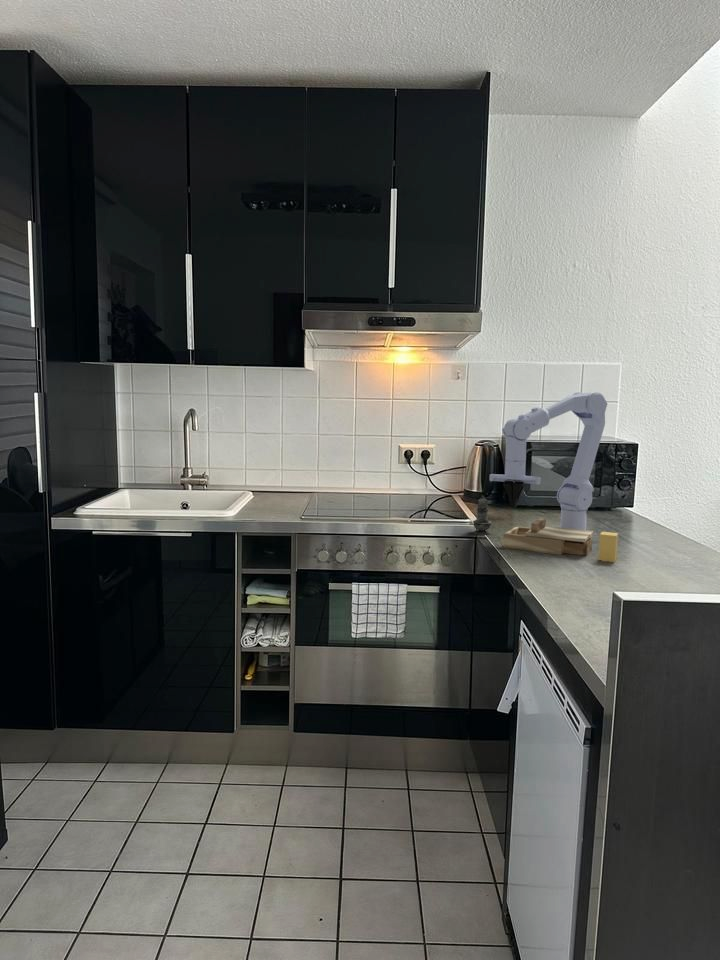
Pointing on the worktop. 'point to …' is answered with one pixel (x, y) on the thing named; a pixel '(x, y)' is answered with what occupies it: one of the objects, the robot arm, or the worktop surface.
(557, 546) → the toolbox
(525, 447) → the robot arm
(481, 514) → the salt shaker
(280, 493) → the worktop surface
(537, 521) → the lid
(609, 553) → the yellow block
